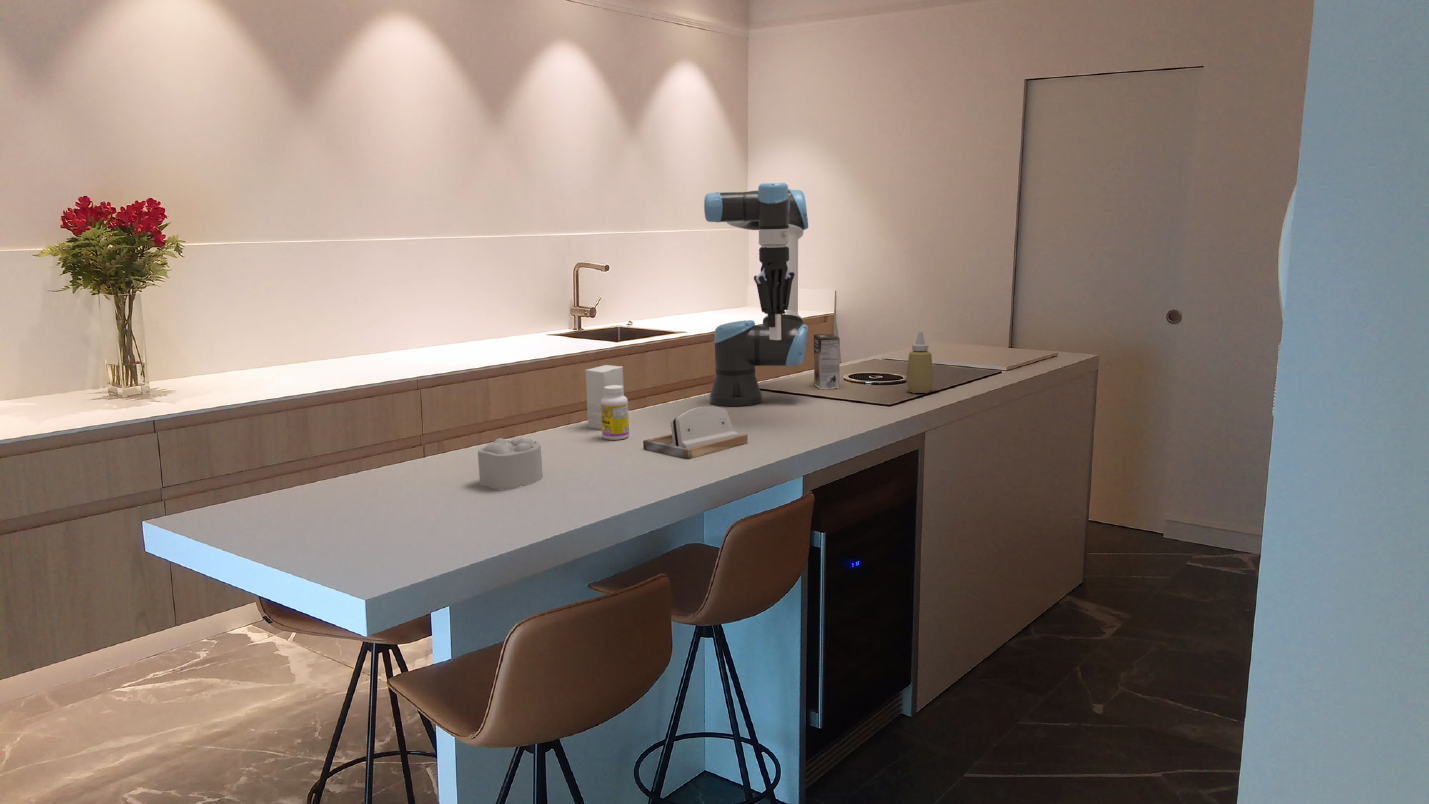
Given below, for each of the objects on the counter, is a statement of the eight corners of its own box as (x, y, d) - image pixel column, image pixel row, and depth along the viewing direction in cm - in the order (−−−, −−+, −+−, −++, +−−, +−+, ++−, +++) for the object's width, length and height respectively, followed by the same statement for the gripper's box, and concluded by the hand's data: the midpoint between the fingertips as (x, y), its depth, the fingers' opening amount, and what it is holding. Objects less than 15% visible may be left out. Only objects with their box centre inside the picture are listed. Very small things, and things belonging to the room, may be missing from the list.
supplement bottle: (599, 436, 239) (596, 385, 237) (624, 433, 242) (622, 383, 239) (607, 441, 233) (604, 390, 231) (632, 438, 236) (630, 387, 233)
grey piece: (685, 452, 221) (675, 410, 221) (674, 455, 224) (664, 414, 225) (740, 440, 231) (730, 400, 232) (729, 443, 235) (719, 404, 235)
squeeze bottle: (912, 389, 292) (913, 330, 289) (937, 391, 287) (938, 331, 284) (901, 393, 286) (901, 333, 282) (926, 395, 281) (927, 334, 277)
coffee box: (813, 384, 304) (813, 334, 301) (833, 384, 304) (833, 333, 301) (819, 390, 295) (819, 337, 292) (840, 389, 295) (840, 337, 292)
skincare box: (608, 422, 256) (605, 364, 253) (627, 424, 252) (624, 366, 249) (586, 428, 249) (583, 368, 246) (605, 430, 245) (603, 370, 242)
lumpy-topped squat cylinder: (473, 483, 199) (470, 443, 197) (523, 470, 209) (520, 431, 207) (504, 491, 192) (501, 450, 191) (554, 477, 202) (552, 437, 201)
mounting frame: (643, 448, 225) (643, 440, 225) (702, 434, 239) (702, 426, 238) (688, 459, 215) (688, 450, 214) (747, 443, 228) (747, 434, 228)
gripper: (767, 248, 232) (768, 344, 238) (802, 244, 241) (803, 337, 246) (745, 247, 238) (747, 341, 243) (780, 244, 247) (781, 335, 252)
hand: (775, 339), depth 245 cm, fingers closed
